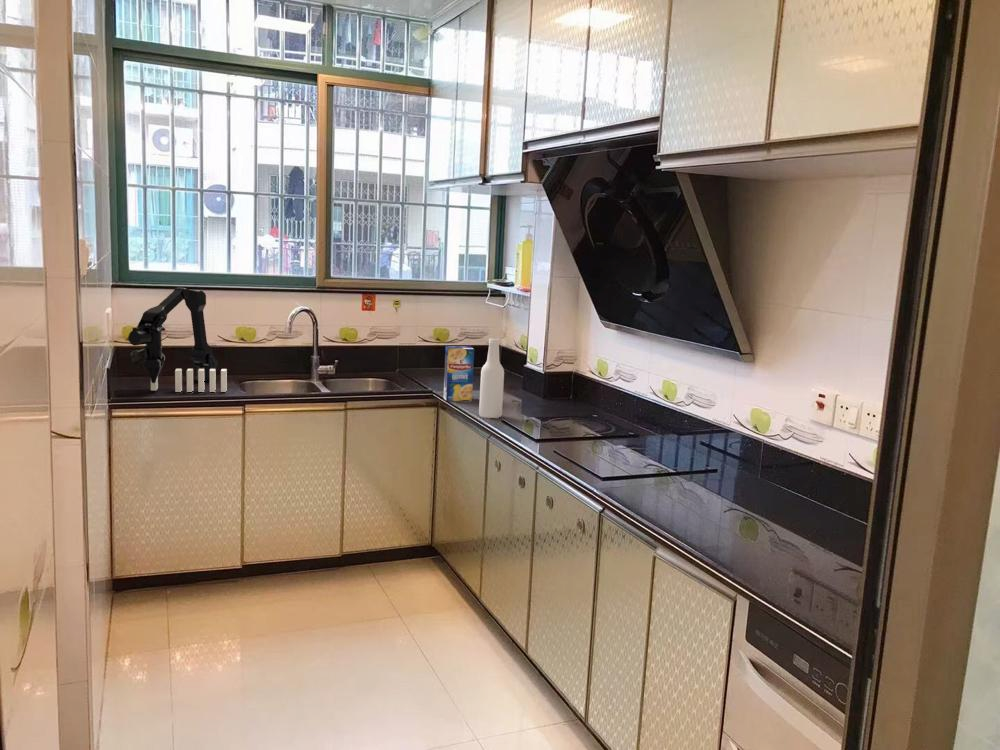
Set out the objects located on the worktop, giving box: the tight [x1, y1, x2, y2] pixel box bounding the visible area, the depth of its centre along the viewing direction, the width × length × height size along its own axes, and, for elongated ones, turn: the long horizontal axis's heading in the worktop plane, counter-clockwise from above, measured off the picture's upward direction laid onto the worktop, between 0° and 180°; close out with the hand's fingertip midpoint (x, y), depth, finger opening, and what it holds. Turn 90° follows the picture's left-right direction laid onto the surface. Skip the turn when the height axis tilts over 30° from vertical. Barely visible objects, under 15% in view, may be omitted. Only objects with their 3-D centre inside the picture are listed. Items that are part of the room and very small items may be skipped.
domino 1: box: [150, 376, 159, 391], centre depth 323 cm, size 2×5×9 cm, turn 16°
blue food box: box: [442, 345, 475, 402], centre depth 339 cm, size 7×11×22 cm, turn 104°
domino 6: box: [220, 368, 228, 393], centre depth 330 cm, size 2×5×9 cm, turn 16°
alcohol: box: [478, 337, 505, 419], centre depth 309 cm, size 9×9×30 cm
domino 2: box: [174, 368, 183, 393], centre depth 325 cm, size 2×5×9 cm, turn 16°
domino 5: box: [209, 368, 217, 393], centre depth 329 cm, size 2×5×9 cm, turn 16°
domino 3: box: [186, 368, 194, 393], centre depth 326 cm, size 2×5×9 cm, turn 16°
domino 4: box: [197, 369, 205, 393], centre depth 328 cm, size 2×5×9 cm, turn 16°
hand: (154, 381), depth 323 cm, fingers closed on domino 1, 5 cm apart
